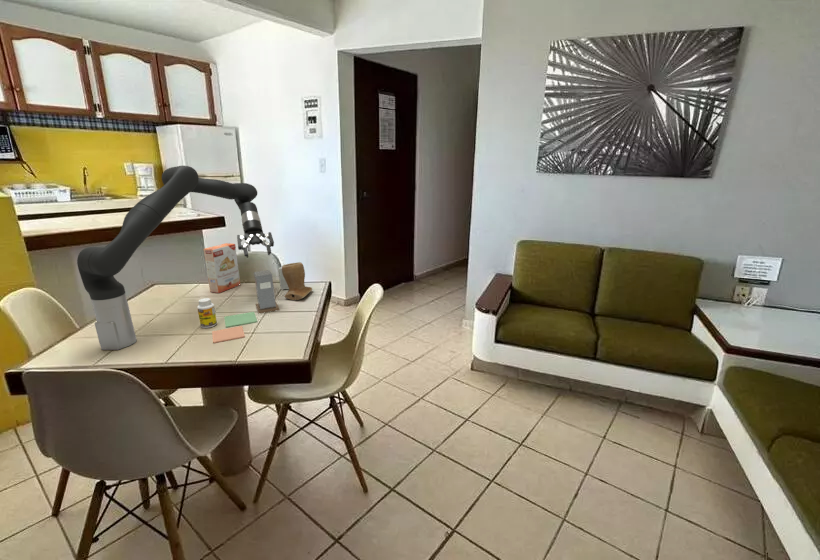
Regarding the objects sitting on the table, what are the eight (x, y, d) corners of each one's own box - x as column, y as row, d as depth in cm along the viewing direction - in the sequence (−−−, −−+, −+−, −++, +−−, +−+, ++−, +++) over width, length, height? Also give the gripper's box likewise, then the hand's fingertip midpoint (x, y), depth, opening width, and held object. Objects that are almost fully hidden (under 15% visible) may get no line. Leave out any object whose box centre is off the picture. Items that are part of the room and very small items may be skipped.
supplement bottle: (197, 328, 146) (193, 302, 143) (204, 322, 152) (200, 297, 149) (213, 328, 146) (208, 302, 143) (219, 322, 152) (215, 297, 149)
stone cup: (290, 290, 188) (287, 259, 184) (315, 290, 187) (312, 259, 182) (277, 301, 173) (273, 267, 169) (303, 301, 172) (300, 268, 168)
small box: (292, 290, 188) (289, 268, 185) (280, 290, 188) (277, 268, 185) (297, 284, 196) (294, 264, 193) (285, 285, 196) (283, 264, 193)
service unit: (279, 310, 163) (274, 274, 159) (258, 313, 160) (253, 277, 155) (275, 303, 171) (271, 269, 166) (255, 306, 167) (251, 271, 163)
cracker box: (219, 293, 185) (212, 249, 179) (209, 292, 187) (202, 248, 181) (241, 284, 197) (235, 243, 191) (232, 283, 199) (225, 242, 193)
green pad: (257, 322, 151) (257, 321, 151) (225, 327, 147) (225, 326, 146) (254, 312, 161) (254, 311, 161) (224, 317, 156) (224, 316, 156)
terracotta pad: (244, 337, 138) (244, 336, 138) (213, 343, 134) (212, 342, 134) (242, 327, 147) (242, 325, 147) (212, 332, 143) (212, 331, 143)
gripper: (233, 220, 167) (239, 252, 161) (269, 217, 173) (276, 248, 167) (234, 230, 173) (240, 262, 167) (268, 228, 179) (275, 258, 173)
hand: (258, 255), depth 167 cm, fingers open, 8 cm apart
